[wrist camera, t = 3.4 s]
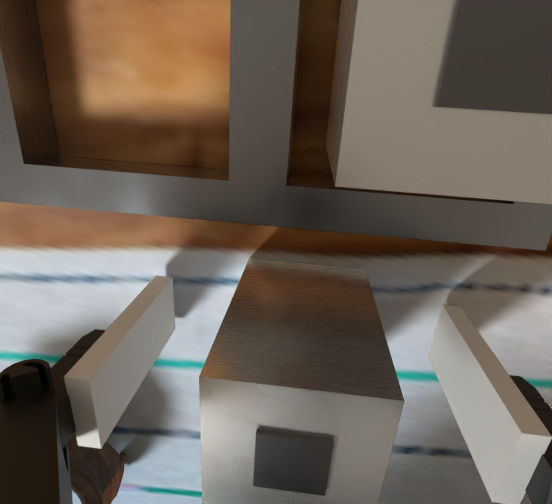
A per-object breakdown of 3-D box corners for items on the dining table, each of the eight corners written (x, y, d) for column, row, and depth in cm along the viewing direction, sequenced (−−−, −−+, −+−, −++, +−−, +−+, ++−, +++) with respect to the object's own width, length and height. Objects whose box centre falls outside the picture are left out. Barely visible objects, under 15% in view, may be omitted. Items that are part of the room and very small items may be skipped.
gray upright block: (502, -8, 12) (790, -177, 5) (462, 154, 14) (621, 211, 6) (342, -15, 12) (381, -183, 5) (325, 144, 14) (335, 188, 7)
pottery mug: (-49, 360, 21) (-138, 462, 13) (130, 355, 25) (136, 432, 17) (-55, 544, 23) (-138, 726, 15) (113, 512, 26) (112, 643, 19)
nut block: (365, 269, 16) (405, 405, 9) (349, 363, 18) (371, 538, 11) (249, 257, 16) (197, 380, 9) (245, 351, 18) (201, 513, 11)
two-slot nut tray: (631, -120, 10) (700, -169, 9) (515, 231, 14) (545, 250, 13) (-32, -136, 12) (-97, -180, 10) (31, 189, 16) (-6, 201, 14)
